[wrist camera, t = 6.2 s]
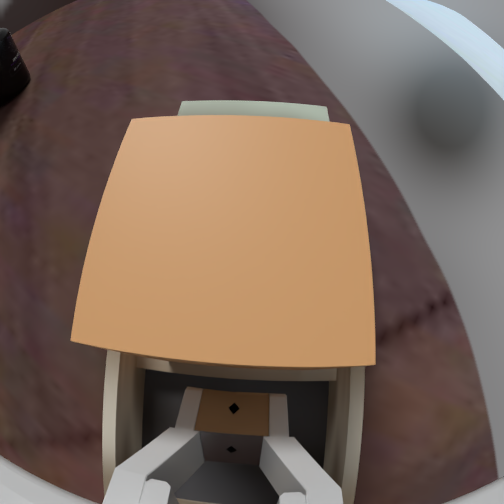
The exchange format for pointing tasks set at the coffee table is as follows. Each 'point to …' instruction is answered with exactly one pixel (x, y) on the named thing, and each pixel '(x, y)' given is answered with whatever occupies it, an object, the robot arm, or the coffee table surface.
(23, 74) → the supplement bottle
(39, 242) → the coffee table surface
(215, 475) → the chute
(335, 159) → the orange block
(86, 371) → the coffee table surface
